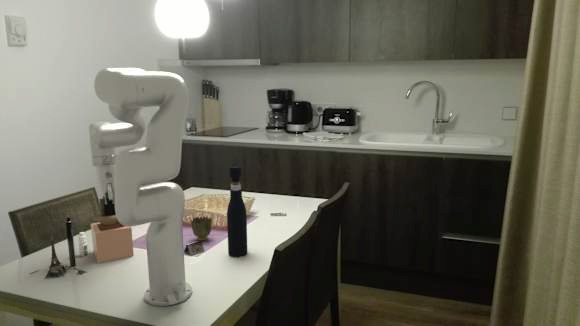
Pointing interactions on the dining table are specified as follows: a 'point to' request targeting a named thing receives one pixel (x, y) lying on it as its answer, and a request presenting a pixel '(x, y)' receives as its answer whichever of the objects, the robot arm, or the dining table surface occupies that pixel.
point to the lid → (105, 219)
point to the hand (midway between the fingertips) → (109, 214)
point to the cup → (201, 227)
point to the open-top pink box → (111, 242)
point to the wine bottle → (236, 217)
